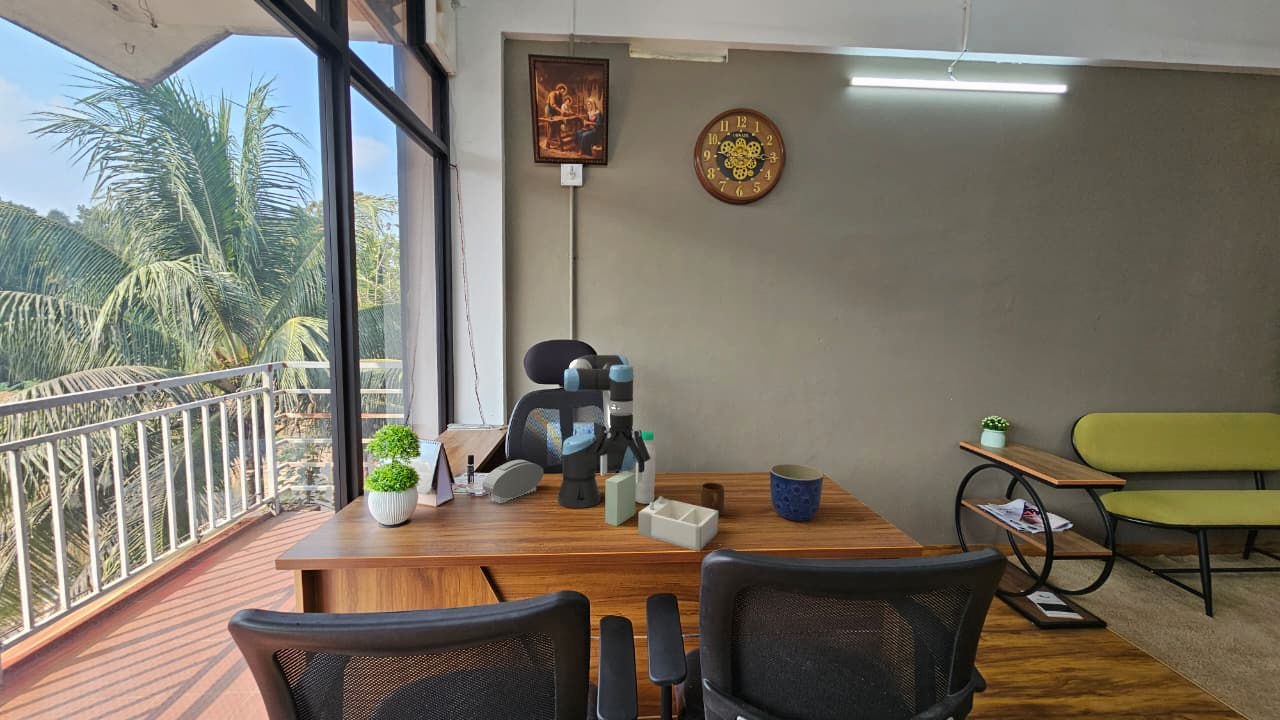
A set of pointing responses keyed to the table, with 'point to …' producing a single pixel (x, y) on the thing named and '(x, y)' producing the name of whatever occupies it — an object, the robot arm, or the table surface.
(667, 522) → the desk organizer
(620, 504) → the pale green block
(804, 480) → the planter
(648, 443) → the water bottle
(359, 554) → the table surface
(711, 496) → the mug
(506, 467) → the grey rounded oblong block
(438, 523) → the table surface
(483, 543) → the table surface
